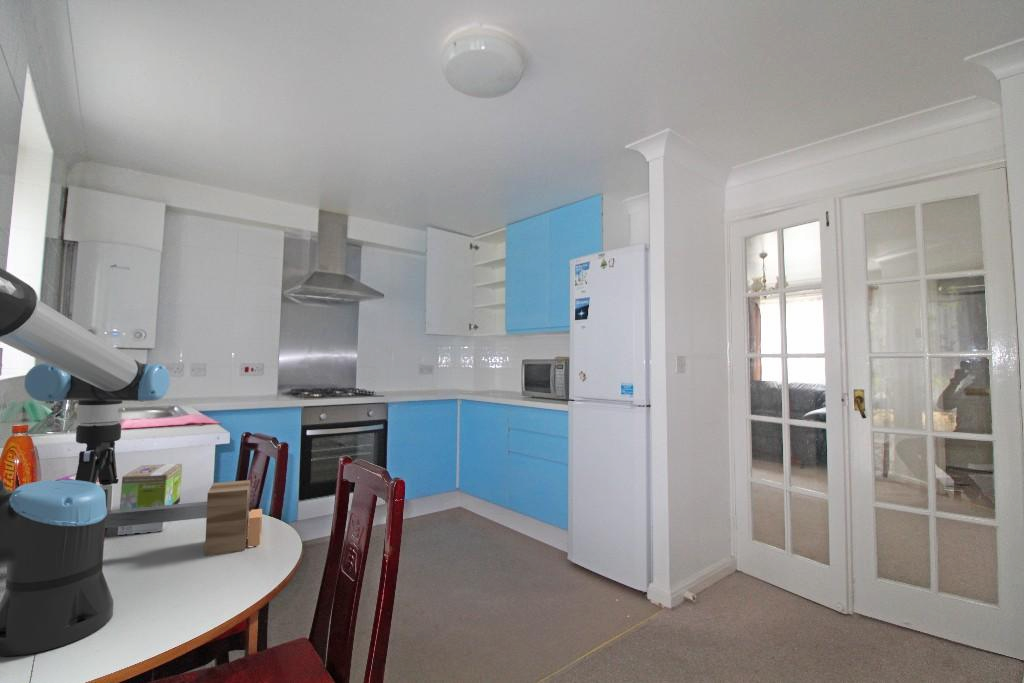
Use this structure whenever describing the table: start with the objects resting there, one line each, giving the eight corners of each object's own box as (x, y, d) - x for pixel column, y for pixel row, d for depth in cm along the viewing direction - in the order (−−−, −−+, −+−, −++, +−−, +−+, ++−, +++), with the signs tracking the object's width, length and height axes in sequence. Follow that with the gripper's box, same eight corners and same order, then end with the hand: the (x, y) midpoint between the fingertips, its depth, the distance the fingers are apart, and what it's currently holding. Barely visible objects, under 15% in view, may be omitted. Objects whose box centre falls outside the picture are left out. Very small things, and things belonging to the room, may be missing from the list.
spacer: (259, 546, 116) (260, 517, 116) (247, 548, 115) (248, 518, 115) (261, 536, 122) (262, 508, 122) (249, 538, 121) (251, 509, 121)
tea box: (164, 532, 124) (167, 473, 125) (116, 536, 120) (119, 476, 121) (180, 514, 138) (182, 462, 139) (137, 517, 134) (140, 464, 135)
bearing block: (244, 550, 113) (247, 489, 114) (204, 555, 110) (207, 493, 110) (247, 536, 122) (250, 480, 123) (210, 540, 119) (213, 482, 119)
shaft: (213, 519, 113) (215, 485, 113) (81, 533, 103) (83, 495, 103) (215, 514, 117) (217, 481, 117) (88, 527, 107) (90, 490, 107)
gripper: (102, 430, 97) (96, 539, 96) (136, 416, 119) (131, 505, 118) (53, 431, 94) (46, 544, 93) (97, 417, 116) (92, 508, 115)
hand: (94, 522), depth 105 cm, fingers open, 12 cm apart
